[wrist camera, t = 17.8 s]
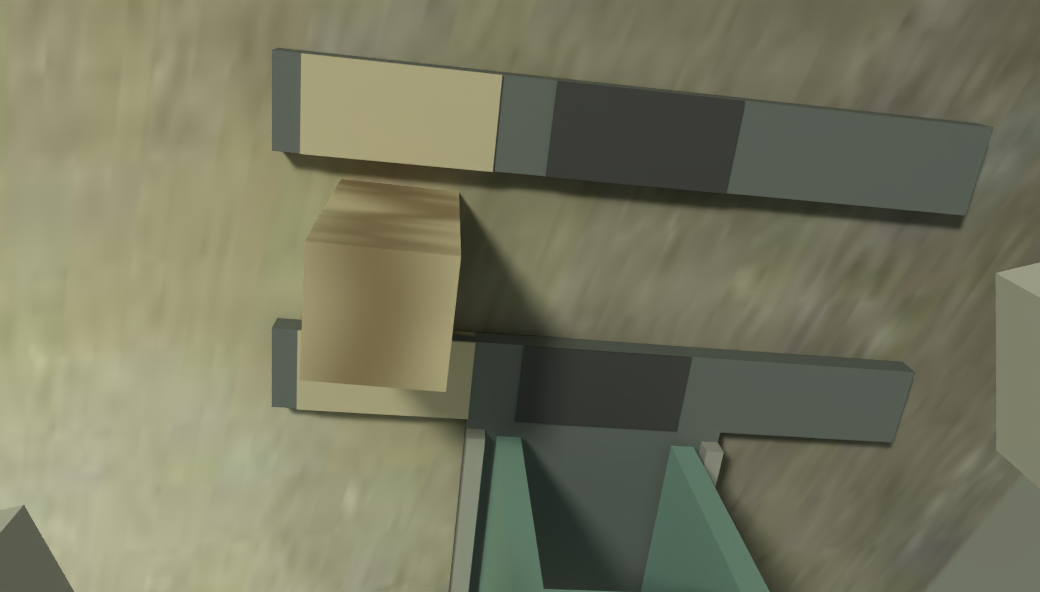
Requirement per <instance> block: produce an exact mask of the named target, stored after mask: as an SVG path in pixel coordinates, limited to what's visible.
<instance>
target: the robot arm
mask: <svg viewBox="0 0 1040 592" xmlns="http://www.w3.org/2000/svg"><path fill="white" fill-rule="evenodd" d="M996 450H997V451H998V452H999V453H1000V454H1001V455H1003V456H1004V457H1005V458H1006V459H1007V460H1008V461H1009V462H1011V463H1012V464H1013V465H1014V466H1015V467H1016V468H1017V469H1018V470H1020V471H1021V472H1022V473H1023V474H1024V475H1025V476H1026V477H1027V478H1029V479H1030V480H1031V481H1032V482H1033V483H1034V484H1035V485H1036V486H1038V487H1039V488H1040V263H1036V264H1032V265H1028V266H1024V267H1020V268H1015V269H1011V270H1007V271H1003V272H999V273H996ZM0 592H74V591H73V589H72V587H71V586H70V584H69V582H68V580H67V579H66V577H65V575H64V573H63V572H62V570H61V568H60V567H59V565H58V563H57V561H56V560H55V558H54V556H53V554H52V553H51V551H50V549H49V547H48V546H47V544H46V542H45V541H44V539H43V537H42V535H41V534H40V532H39V530H38V528H37V527H36V525H35V523H34V522H33V520H32V518H31V516H30V515H29V513H28V511H27V509H26V508H25V506H24V505H21V506H17V507H12V508H8V509H4V510H0Z"/></svg>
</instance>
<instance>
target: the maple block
mask: <svg viewBox="0 0 1040 592" xmlns="http://www.w3.org/2000/svg"><path fill="white" fill-rule="evenodd" d="M460 262H461V238H460V208H459V192H454V191H445V190H436V189H427V188H418V187H409V186H400V185H391V184H382V183H373V182H364V181H355V180H346V179H341V180H340V182H339V184H338V185H337V187H336V189H335V191H334V192H333V194H332V196H331V197H330V199H329V201H328V202H327V204H326V206H325V208H324V209H323V211H322V213H321V214H320V216H319V218H318V219H317V221H316V223H315V225H314V226H313V228H312V230H311V231H310V233H309V235H308V237H307V238H306V240H305V253H304V278H303V303H302V329H301V354H300V379H299V380H302V381H314V382H327V383H339V384H352V385H364V386H376V387H389V388H401V389H413V390H426V391H438V392H446V386H447V377H448V368H449V360H450V351H451V342H452V333H453V324H454V315H455V306H456V298H457V289H458V280H459V271H460Z"/></svg>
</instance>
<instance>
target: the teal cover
mask: <svg viewBox="0 0 1040 592" xmlns="http://www.w3.org/2000/svg"><path fill="white" fill-rule="evenodd" d="M479 592H618V591H588V590H558V589H544V588H543V581H542V575H541V568H540V561H539V555H538V548H537V542H536V535H535V529H534V522H533V515H532V509H531V502H530V496H529V489H528V482H527V476H526V469H525V463H524V456H523V450H522V443H521V437H505V436H497V439H496V448H495V457H494V465H493V474H492V482H491V491H490V500H489V508H488V517H487V525H486V534H485V543H484V551H483V560H482V569H481V577H480V586H479ZM641 592H770V591H769V589H768V587H767V586H766V584H765V582H764V580H763V578H762V576H761V574H760V572H759V570H758V568H757V567H756V565H755V563H754V561H753V559H752V557H751V555H750V553H749V551H748V549H747V548H746V546H745V544H744V542H743V540H742V538H741V536H740V534H739V532H738V530H737V529H736V527H735V525H734V523H733V521H732V519H731V517H730V515H729V513H728V511H727V510H726V508H725V506H724V504H723V502H722V500H721V498H720V496H719V494H718V492H717V491H716V489H715V487H714V485H713V483H712V481H711V479H710V477H709V475H708V473H707V472H706V470H705V468H704V466H703V464H702V462H701V460H700V458H699V456H698V454H697V452H696V451H695V449H694V447H686V446H671V448H670V453H669V458H668V463H667V468H666V472H665V477H664V482H663V487H662V492H661V497H660V501H659V506H658V511H657V516H656V521H655V526H654V530H653V535H652V540H651V545H650V550H649V555H648V559H647V564H646V569H645V574H644V579H643V584H642V588H641Z"/></svg>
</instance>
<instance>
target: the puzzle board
mask: <svg viewBox="0 0 1040 592" xmlns="http://www.w3.org/2000/svg"><path fill="white" fill-rule="evenodd" d="M992 130H993V127H989V126H985V125H981V124H977V123H968V122H958V121H949V120H940V119H931V118H921V117H912V116H903V115H894V114H884V113H875V112H866V111H857V110H847V109H838V108H829V107H820V106H810V105H801V104H792V103H783V102H774V101H764V100H755V99H746V98H737V97H727V96H718V95H709V94H700V93H690V92H681V91H672V90H663V89H653V88H644V87H635V86H626V85H616V84H607V83H598V82H589V81H579V80H570V79H561V78H552V77H542V76H533V75H524V74H515V73H505V72H496V71H487V70H478V69H469V68H459V67H450V66H441V65H432V64H422V63H413V62H404V61H395V60H385V59H376V58H367V57H358V56H348V55H339V54H330V53H321V52H311V51H302V50H293V49H284V48H276V49H273V50H272V151H281V152H292V153H300V154H306V155H317V156H328V157H338V158H349V159H360V160H370V161H381V162H392V163H402V164H413V165H424V166H434V167H445V168H456V169H466V170H477V171H488V172H493V171H495V172H505V173H516V174H527V175H537V176H546V177H552V178H563V179H573V180H584V181H595V182H605V183H616V184H627V185H637V186H648V187H659V188H670V189H680V190H691V191H702V192H712V193H723V194H726V193H729V194H740V195H751V196H761V197H772V198H783V199H793V200H804V201H815V202H825V203H836V204H847V205H858V206H868V207H879V208H890V209H900V210H911V211H922V212H932V213H943V214H954V215H964V216H965V214H966V211H967V208H968V205H969V202H970V199H971V196H972V193H973V190H974V186H975V183H976V180H977V177H978V174H979V171H980V168H981V165H982V161H983V158H984V155H985V152H986V149H987V146H988V143H989V140H990V136H991V133H992ZM301 329H302V320H295V319H281V318H277V320H276V322H275V323H274V325H273V327H272V407H286V408H297V410H314V411H332V412H349V413H367V414H384V415H401V416H419V417H436V418H454V419H466V425H465V435H464V445H463V455H462V465H461V476H460V486H459V496H458V506H457V516H456V526H455V536H454V546H453V556H452V566H451V576H450V586H449V592H479V586H480V577H481V569H482V560H483V551H484V543H485V534H486V525H487V517H488V508H489V500H490V491H491V482H492V474H493V465H494V457H495V448H496V439H497V436H505V437H521V443H522V450H523V456H524V463H525V469H526V476H527V482H528V489H529V496H530V502H531V509H532V515H533V522H534V529H535V535H536V542H537V548H538V555H539V561H540V568H541V575H542V581H543V588H544V589H558V590H588V591H618V592H641V588H642V584H643V579H644V574H645V569H646V564H647V559H648V555H649V550H650V545H651V540H652V535H653V530H654V526H655V521H656V516H657V511H658V506H659V501H660V497H661V492H662V487H663V482H664V477H665V472H666V468H667V463H668V458H669V453H670V448H671V446H686V447H694V449H695V451H696V452H697V454H698V456H699V458H700V460H701V462H702V464H703V466H704V468H705V470H706V472H707V473H708V475H709V477H710V479H711V481H712V483H713V485H714V487H716V483H717V479H718V475H719V470H720V466H721V462H722V458H723V453H724V452H723V450H722V449H721V447H720V445H719V444H718V440H719V435H720V433H737V434H754V435H771V436H789V437H806V438H823V439H841V440H858V441H875V442H893V439H894V436H895V433H896V430H897V427H898V424H899V420H900V417H901V414H902V411H903V408H904V405H905V402H906V399H907V396H908V392H909V389H910V386H911V383H912V380H913V377H914V374H915V372H914V371H913V370H912V369H910V368H909V367H908V366H907V365H906V364H904V363H903V362H894V361H879V360H865V359H851V358H837V357H822V356H808V355H794V354H780V353H765V352H751V351H737V350H723V349H708V348H694V347H680V346H666V345H651V344H637V343H623V342H609V341H594V340H580V339H566V338H552V337H537V336H523V335H509V334H495V333H480V332H466V331H453V333H452V342H451V351H450V360H449V368H448V377H447V386H446V392H438V391H426V390H413V389H401V388H389V387H376V386H364V385H352V384H339V383H327V382H314V381H302V380H299V379H300V354H301Z"/></svg>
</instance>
